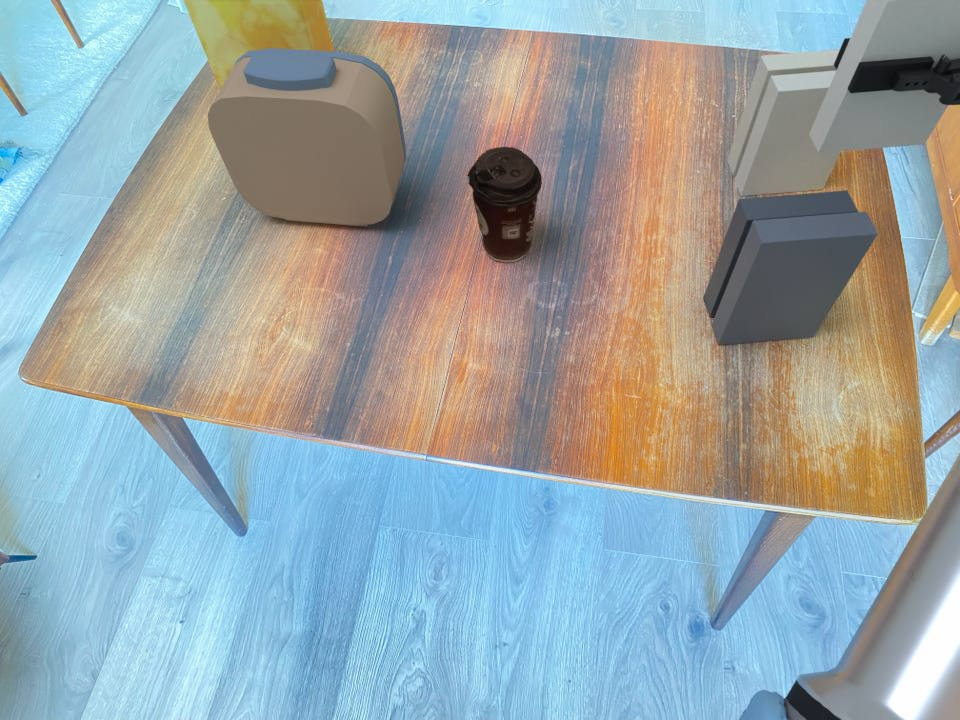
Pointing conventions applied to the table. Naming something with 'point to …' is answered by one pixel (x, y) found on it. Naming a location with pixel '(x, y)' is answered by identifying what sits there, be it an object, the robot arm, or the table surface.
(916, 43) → the white book
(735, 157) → the white books
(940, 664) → the robot arm
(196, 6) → the yellow marbled panel
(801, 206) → the grey books
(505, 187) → the coffee cup
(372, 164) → the alarm clock
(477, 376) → the table surface
